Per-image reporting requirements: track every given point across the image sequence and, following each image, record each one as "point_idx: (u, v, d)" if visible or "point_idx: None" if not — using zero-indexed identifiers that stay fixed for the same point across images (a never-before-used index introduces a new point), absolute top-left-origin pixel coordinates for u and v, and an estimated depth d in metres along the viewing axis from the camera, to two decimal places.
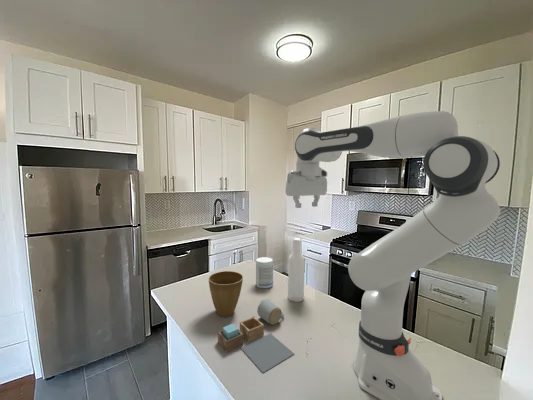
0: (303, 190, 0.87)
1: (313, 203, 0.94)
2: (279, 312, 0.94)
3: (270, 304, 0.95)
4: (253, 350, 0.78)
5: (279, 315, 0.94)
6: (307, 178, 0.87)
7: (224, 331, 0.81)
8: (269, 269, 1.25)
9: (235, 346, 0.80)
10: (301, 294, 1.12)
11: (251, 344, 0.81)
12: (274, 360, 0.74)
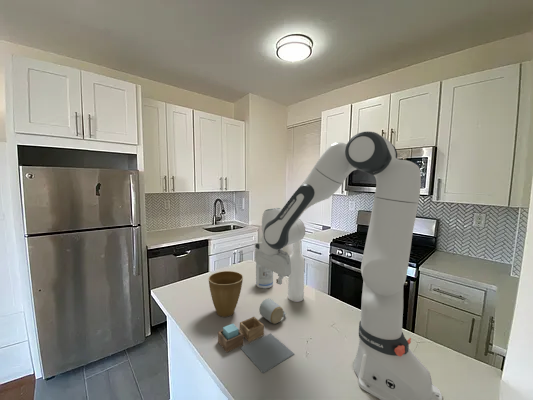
0: None
1: (265, 273, 0.99)
2: (281, 311, 0.95)
3: (272, 303, 0.96)
4: (253, 350, 0.78)
5: (281, 314, 0.95)
6: None
7: (224, 331, 0.81)
8: None
9: (235, 346, 0.80)
10: (301, 294, 1.12)
11: (251, 344, 0.81)
12: (274, 360, 0.74)
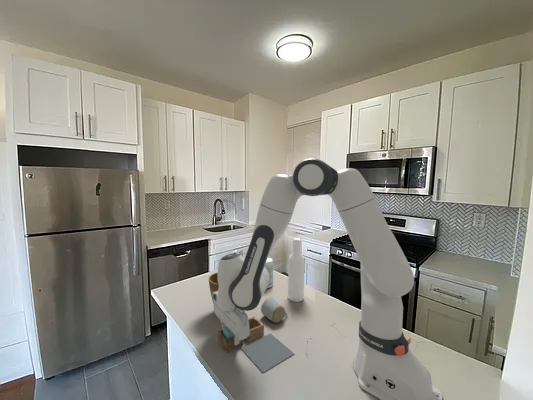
0: None
1: None
2: (283, 310, 0.95)
3: (274, 302, 0.96)
4: (253, 350, 0.78)
5: (283, 313, 0.95)
6: None
7: (224, 331, 0.81)
8: (269, 269, 1.25)
9: (235, 346, 0.80)
10: (301, 294, 1.12)
11: (251, 344, 0.81)
12: (274, 360, 0.74)
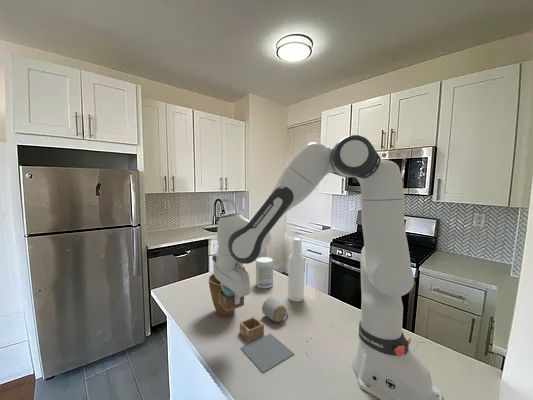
0: None
1: None
2: (283, 310, 0.95)
3: (275, 302, 0.97)
4: (253, 350, 0.78)
5: (283, 313, 0.96)
6: None
7: (224, 291, 0.80)
8: (269, 269, 1.25)
9: (235, 305, 0.79)
10: (301, 294, 1.12)
11: (251, 344, 0.81)
12: (274, 360, 0.74)
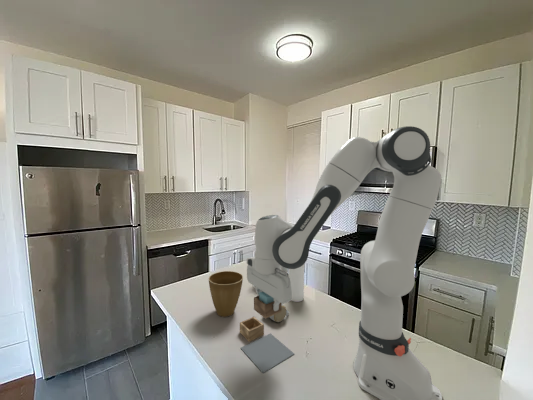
0: None
1: None
2: (284, 310, 0.96)
3: None
4: (253, 350, 0.78)
5: (284, 313, 0.96)
6: None
7: (261, 296, 0.76)
8: None
9: (274, 311, 0.75)
10: (301, 294, 1.12)
11: (251, 344, 0.81)
12: (274, 360, 0.74)
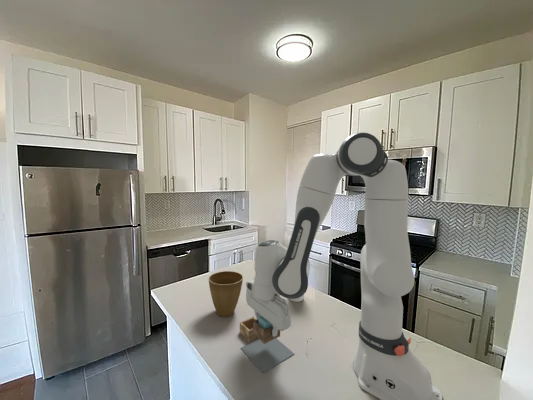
0: None
1: None
2: None
3: None
4: (253, 350, 0.78)
5: None
6: None
7: (260, 321, 0.77)
8: None
9: (272, 336, 0.75)
10: None
11: (251, 344, 0.81)
12: (274, 360, 0.74)
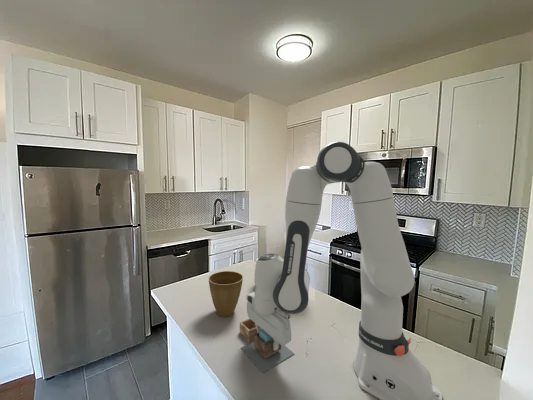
0: None
1: None
2: None
3: None
4: (253, 350, 0.78)
5: None
6: None
7: (261, 334, 0.77)
8: None
9: (273, 350, 0.76)
10: None
11: (251, 344, 0.81)
12: (274, 360, 0.74)
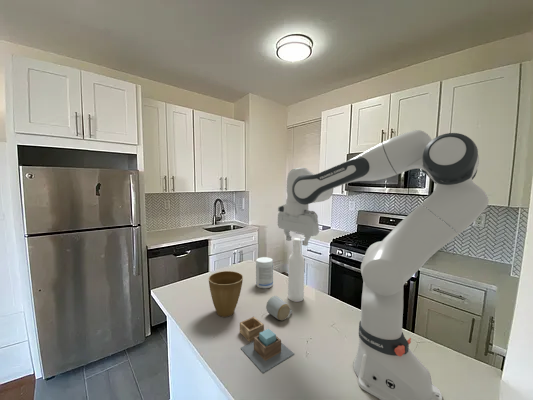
0: None
1: (289, 237, 0.97)
2: (287, 308, 0.97)
3: (279, 300, 0.98)
4: (253, 350, 0.78)
5: (287, 311, 0.97)
6: None
7: (261, 337, 0.77)
8: (269, 269, 1.25)
9: (273, 353, 0.76)
10: (301, 294, 1.12)
11: (251, 344, 0.81)
12: (274, 360, 0.74)
